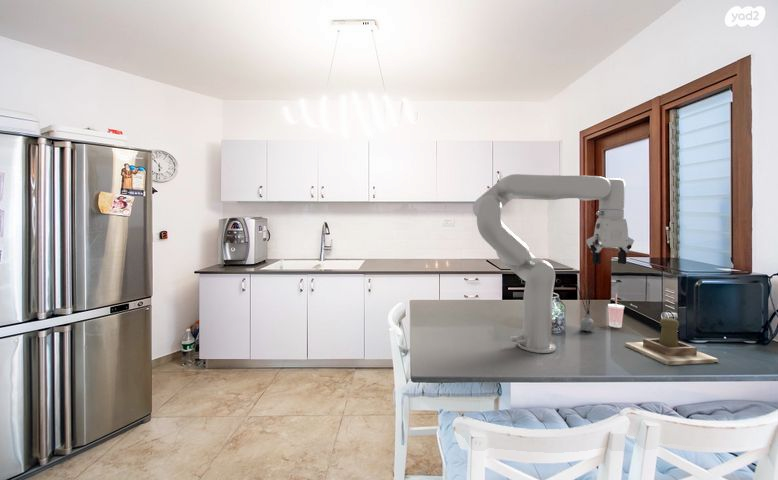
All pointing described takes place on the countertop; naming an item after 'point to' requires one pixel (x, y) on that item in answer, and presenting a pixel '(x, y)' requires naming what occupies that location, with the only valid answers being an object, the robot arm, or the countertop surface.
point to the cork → (669, 332)
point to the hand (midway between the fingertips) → (609, 263)
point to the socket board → (671, 352)
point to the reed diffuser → (587, 316)
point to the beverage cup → (615, 314)
